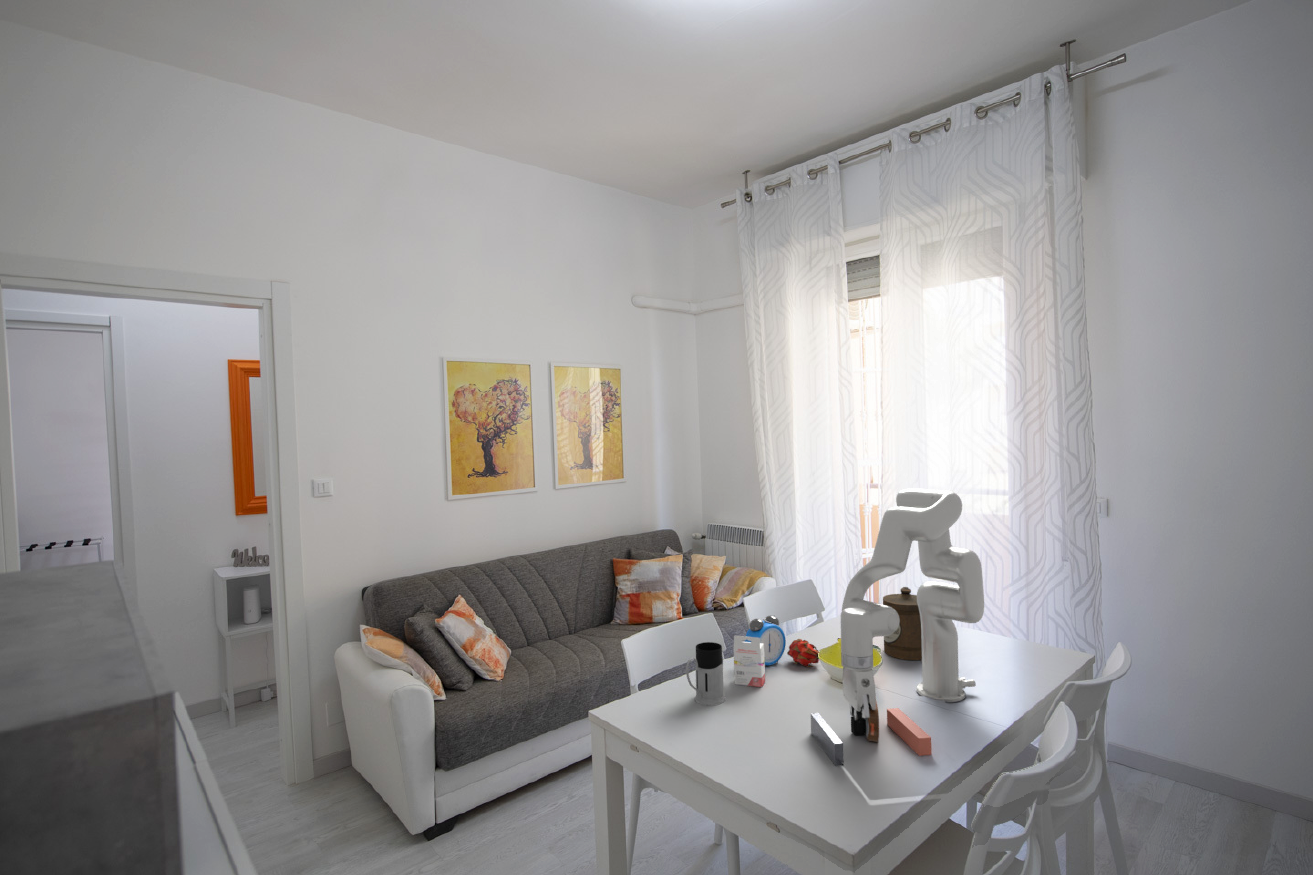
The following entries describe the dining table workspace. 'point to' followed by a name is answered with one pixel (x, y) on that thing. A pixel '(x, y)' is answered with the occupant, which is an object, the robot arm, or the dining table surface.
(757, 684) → the ink cartridge box
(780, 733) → the dining table surface
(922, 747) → the pink block
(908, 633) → the wooden container
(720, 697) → the glass holder
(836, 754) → the gray metal bar
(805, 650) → the dragon fruit
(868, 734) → the tin
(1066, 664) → the dining table surface
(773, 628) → the alarm clock
